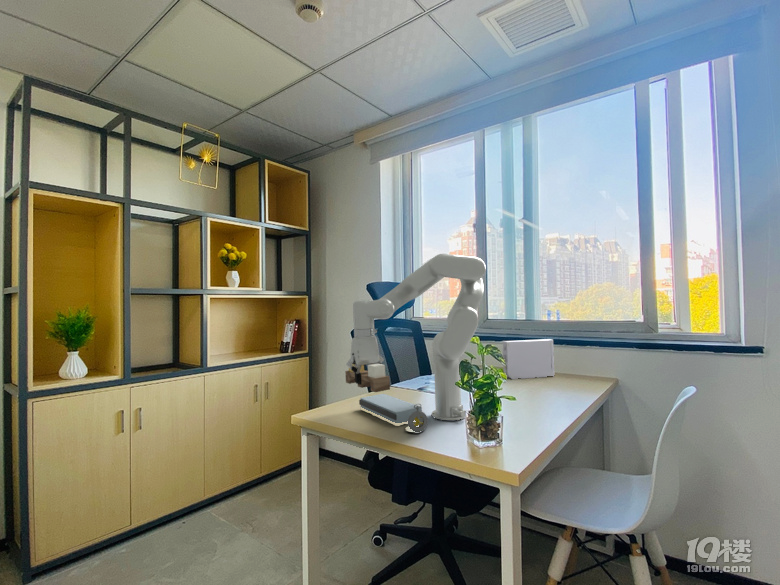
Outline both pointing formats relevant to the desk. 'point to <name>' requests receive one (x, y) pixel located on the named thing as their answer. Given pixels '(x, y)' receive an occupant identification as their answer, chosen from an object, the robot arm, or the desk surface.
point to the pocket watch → (417, 420)
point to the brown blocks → (369, 381)
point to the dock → (389, 407)
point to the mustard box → (360, 369)
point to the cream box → (376, 370)
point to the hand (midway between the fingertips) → (366, 381)
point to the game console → (528, 358)
